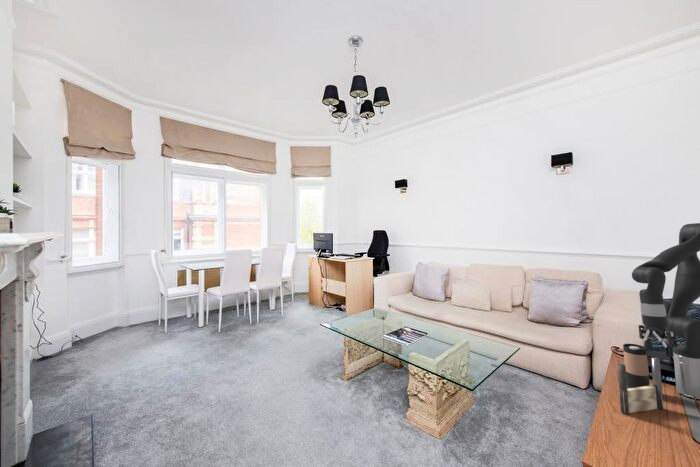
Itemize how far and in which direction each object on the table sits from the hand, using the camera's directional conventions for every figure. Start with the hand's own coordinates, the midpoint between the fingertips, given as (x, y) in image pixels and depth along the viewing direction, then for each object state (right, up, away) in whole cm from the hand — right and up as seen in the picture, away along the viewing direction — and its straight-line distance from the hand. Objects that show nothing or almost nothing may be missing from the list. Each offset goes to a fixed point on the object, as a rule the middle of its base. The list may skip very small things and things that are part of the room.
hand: (659, 353), depth 123 cm
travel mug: (-2, -20, +7) cm, 22 cm away
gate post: (-6, -20, -6) cm, 22 cm away
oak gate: (-16, -20, -7) cm, 26 cm away
